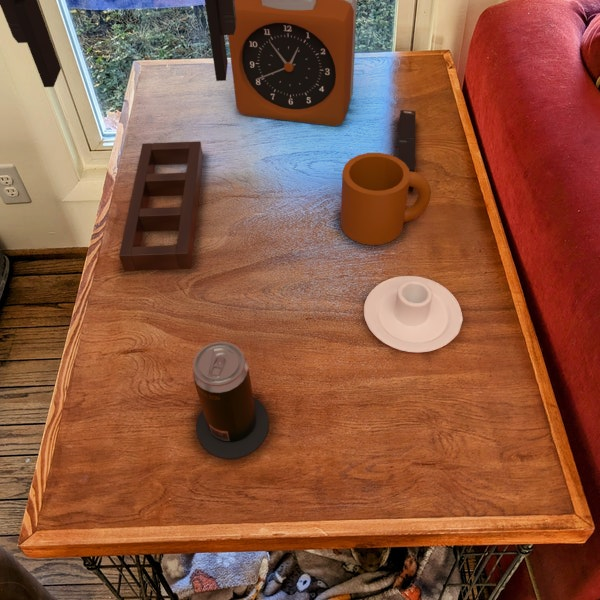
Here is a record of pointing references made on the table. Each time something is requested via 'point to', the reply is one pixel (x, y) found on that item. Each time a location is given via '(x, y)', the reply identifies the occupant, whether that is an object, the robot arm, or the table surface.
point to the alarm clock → (294, 59)
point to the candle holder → (413, 314)
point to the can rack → (163, 218)
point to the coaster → (237, 448)
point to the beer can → (225, 391)
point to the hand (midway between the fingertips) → (137, 75)
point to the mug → (379, 197)
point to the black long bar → (407, 140)
